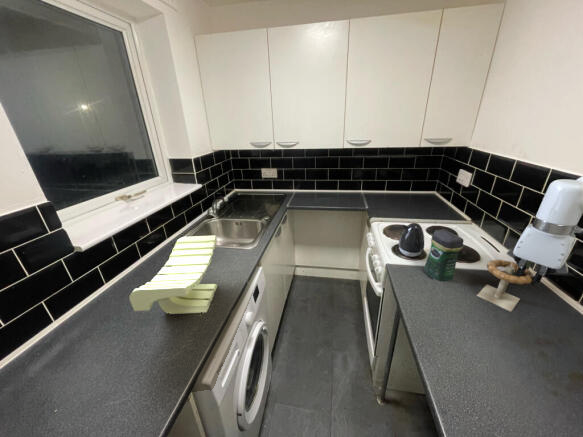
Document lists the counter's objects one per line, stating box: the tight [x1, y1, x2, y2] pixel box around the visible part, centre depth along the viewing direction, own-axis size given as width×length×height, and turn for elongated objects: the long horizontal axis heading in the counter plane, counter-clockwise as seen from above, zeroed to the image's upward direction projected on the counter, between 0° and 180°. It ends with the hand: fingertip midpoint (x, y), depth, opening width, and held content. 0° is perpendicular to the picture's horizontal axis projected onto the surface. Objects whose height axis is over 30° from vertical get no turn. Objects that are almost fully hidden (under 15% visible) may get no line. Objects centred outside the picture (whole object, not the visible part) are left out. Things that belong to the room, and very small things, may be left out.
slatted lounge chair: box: [129, 234, 218, 315], centre depth 80 cm, size 30×16×18 cm, turn 1°
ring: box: [486, 259, 535, 286], centre depth 72 cm, size 11×11×2 cm
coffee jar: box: [423, 228, 464, 282], centre depth 86 cm, size 10×8×19 cm
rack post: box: [476, 266, 521, 313], centre depth 74 cm, size 9×9×13 cm
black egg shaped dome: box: [397, 222, 425, 258], centre depth 101 cm, size 10×10×15 cm
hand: (526, 280), depth 69 cm, fingers closed on ring, 2 cm apart
